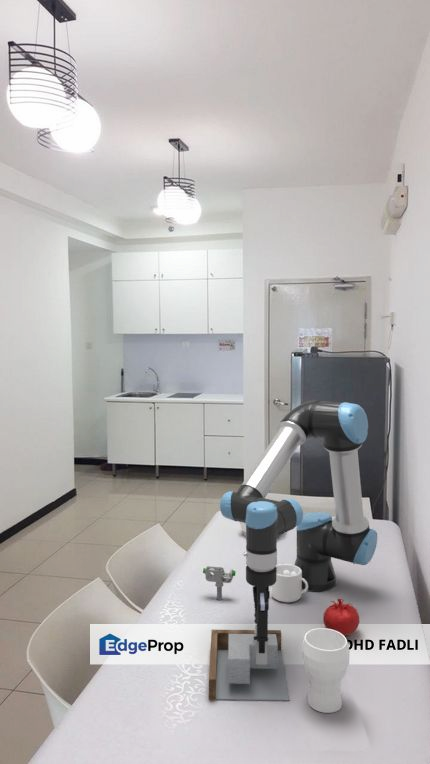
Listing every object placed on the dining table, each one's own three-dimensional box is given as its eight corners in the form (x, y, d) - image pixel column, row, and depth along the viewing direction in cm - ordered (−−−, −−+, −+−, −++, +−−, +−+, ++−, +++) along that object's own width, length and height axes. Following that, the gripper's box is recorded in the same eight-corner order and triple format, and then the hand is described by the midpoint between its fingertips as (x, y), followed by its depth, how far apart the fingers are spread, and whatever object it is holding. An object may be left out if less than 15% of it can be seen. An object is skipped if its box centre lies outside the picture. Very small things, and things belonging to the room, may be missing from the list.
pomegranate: (364, 638, 152) (365, 605, 151) (330, 641, 150) (331, 608, 149) (350, 620, 161) (350, 589, 161) (318, 623, 160) (318, 592, 159)
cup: (296, 688, 130) (297, 627, 129) (339, 685, 131) (340, 625, 130) (307, 719, 119) (308, 653, 118) (355, 716, 120) (356, 650, 119)
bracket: (228, 656, 139) (228, 633, 138) (275, 656, 139) (275, 634, 138) (228, 683, 128) (228, 658, 127) (279, 684, 128) (279, 659, 127)
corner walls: (280, 648, 147) (280, 630, 146) (289, 701, 125) (289, 680, 125) (211, 647, 147) (211, 629, 147) (208, 700, 126) (208, 679, 125)
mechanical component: (234, 602, 172) (234, 572, 171) (202, 599, 174) (202, 569, 173) (235, 598, 175) (235, 568, 174) (204, 595, 177) (204, 565, 176)
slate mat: (281, 651, 145) (281, 650, 145) (289, 701, 125) (289, 699, 125) (217, 650, 146) (217, 649, 146) (215, 700, 126) (215, 698, 126)
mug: (312, 594, 178) (313, 567, 177) (303, 608, 168) (303, 580, 168) (277, 587, 183) (277, 560, 182) (266, 600, 174) (267, 572, 173)
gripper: (244, 551, 143) (244, 636, 145) (247, 582, 125) (246, 678, 127) (273, 551, 143) (272, 637, 145) (279, 582, 125) (279, 679, 127)
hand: (260, 656), depth 136 cm, fingers closed on bracket, 5 cm apart
